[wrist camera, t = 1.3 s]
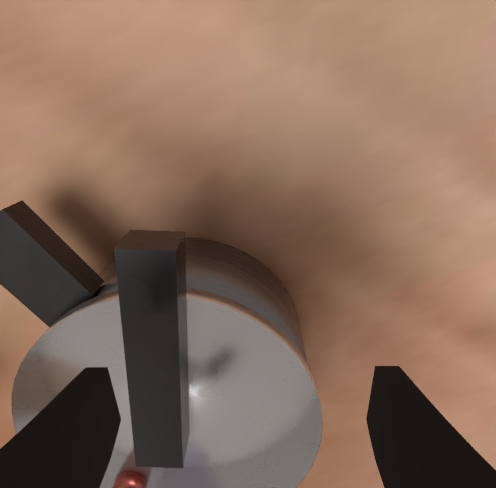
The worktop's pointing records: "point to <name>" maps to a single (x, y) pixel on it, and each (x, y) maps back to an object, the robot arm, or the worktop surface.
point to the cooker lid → (181, 378)
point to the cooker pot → (92, 285)
